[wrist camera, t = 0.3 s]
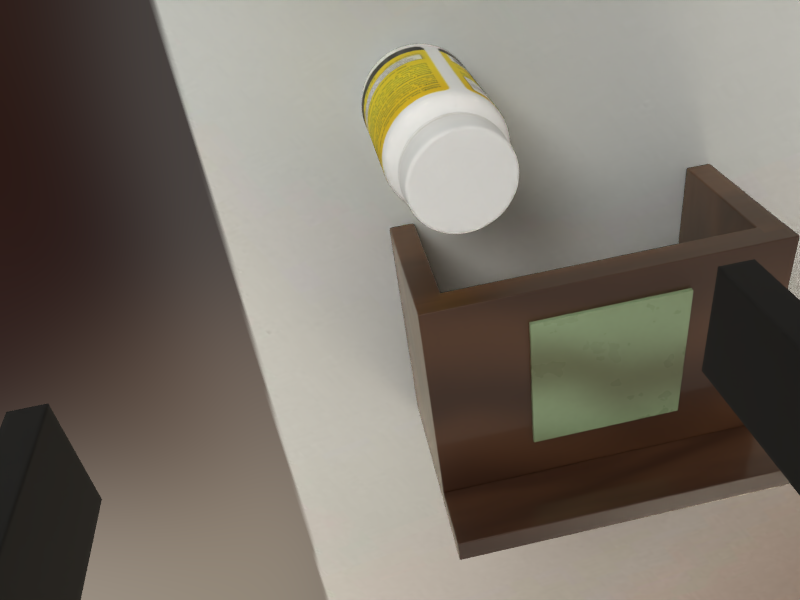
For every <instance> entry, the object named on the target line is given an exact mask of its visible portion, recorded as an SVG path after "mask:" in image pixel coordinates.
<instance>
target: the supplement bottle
mask: <svg viewBox="0 0 800 600" xmlns="http://www.w3.org/2000/svg"><path fill="white" fill-rule="evenodd" d="M362 113H363V118H364V122H365V124H366V127H367V129H368V132H369V134H370V137H371V140H372V142H373V145H374V148H375V151H376V153H377V156H378V159H379V161H380V164H381V167H382V169H383V172H384V175H385V177H386V179H387V182H388V183H389V185H390V187H391V188H392V189H393V191H394V192H395V193H396V194H397V195H398V196H399V197H400V198H401V199H402V200H403V201H404V202H406V203H407V204H408V206H409V208H410V209H411V211H412V213H413V214H414V215H415V217H416V218H417V219H418V220H419V221H420V222H422V223H423V224H424V225H426V226H427V227H429V228H431V229H433V230H435V231H438V232H442V233H447V234H463V233H469V232H473V231H476V230H478V229H481V228H483V227H485V226H487V225H488V224H490V223H491V222H493V221H494V220H496V219H497V218H498V217H499V216H500V215H501V214H502V213H503V212H504V211H505V210H506V209H507V207H508V206H509V205H510V203H511V201H512V199H513V198H514V195H515V193H516V190H517V187H518V182H519V164H518V160H517V156H516V154H515V152H514V149H513V148H512V146H511V143H510V135H509V131H508V128H507V125H506V123H505V120H504V118H503V116H502V115H501V113H500V112H499V110H498V109H497V108H496V106H495V105H494V104H493V103H492V101H491V100H490V99H489V98H488V97H487V95H486V94H485V93H484V91H483V90H482V89H481V88H480V86H479V85H478V84H477V83H476V81H475V80H474V79H473V78H472V76H471V75H470V74H469V73H468V71H467V70H466V69H465V67H464V66H463V65H462V64H461V63H460V62H459V60H458V59H456V58H455V57H454V56H453V55H452V54H451V53H449V52H448V51H446V50H444V49H442V48H440V47H437V46H434V45H429V44H411V45H406V46H402V47H399V48H397V49H395V50H393V51H391V52H389V53H388V54H386V55H385V56H383V57H382V58H381V59H380V60H379V61H378V62H377V63H376V64H375V65H374V67H373V68H372V70H371V71H370V73H369V74H368V77H367V79H366V81H365V84H364V87H363V91H362Z"/></svg>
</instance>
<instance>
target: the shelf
mask: <svg viewBox="0 0 800 600" xmlns="http://www.w3.org/2000/svg"><path fill="white" fill-rule="evenodd" d="M390 235H391V241H392V247H393V253H394V260H395V266H396V272H397V279H398V285H399V291H400V297H401V304H402V310H403V316H404V322H405V329H406V335H407V341H408V347H409V354H410V360H411V366H412V373H413V379H414V385H415V391H416V398H417V404H418V409H419V413H420V416H421V420H422V424H423V427H424V431H425V435H426V438H427V442H428V445H429V449H430V453H431V456H432V460H433V464H434V467H435V471H436V474H437V478H438V482H439V485H440V489H441V493H442V496H443V500H444V504H445V507H446V511H447V515H448V518H449V522H450V525H451V529H452V533H453V536H454V540H455V544H456V547H457V551H458V554H459V558H460V560H462V559H466V558H471V557H475V556H479V555H484V554H488V553H492V552H496V551H501V550H505V549H509V548H514V547H518V546H522V545H527V544H531V543H535V542H540V541H544V540H548V539H553V538H557V537H561V536H566V535H570V534H574V533H579V532H583V531H587V530H592V529H596V528H600V527H605V526H609V525H613V524H618V523H622V522H626V521H631V520H635V519H639V518H644V517H648V516H652V515H657V514H661V513H665V512H669V511H674V510H678V509H682V508H687V507H691V506H695V505H700V504H704V503H708V502H713V501H717V500H721V499H726V498H730V497H734V496H739V495H743V494H747V493H752V492H756V491H760V490H765V489H769V488H773V487H778V486H782V485H786V484H789V483H790V482H789V481H788V480H787V479H786V477H785V476H784V475H783V473H782V472H781V471H780V470H779V468H778V467H777V466H776V465H775V463H774V462H773V461H772V459H771V458H770V457H769V456H768V454H767V453H766V452H765V451H764V449H763V448H762V447H761V446H760V444H759V443H758V442H757V440H756V439H755V438H754V437H753V435H752V434H751V433H750V432H749V430H748V429H747V428H746V426H745V425H744V424H743V423H742V421H741V420H740V419H739V418H738V416H737V415H736V414H735V413H734V411H733V410H732V409H731V407H730V406H729V405H728V404H727V402H726V401H725V400H724V399H723V397H722V396H721V395H720V393H719V392H718V391H717V390H716V388H715V387H714V386H713V385H712V383H711V382H710V381H709V380H708V378H707V377H706V376H705V374H704V373H703V372H702V365H703V359H704V352H705V346H706V340H707V333H708V327H709V321H710V314H711V308H712V302H713V295H714V289H715V283H716V276H717V270H718V266H723V265H728V264H733V263H738V262H743V261H748V260H753V259H755V260H756V261H757V262H758V263H759V264H761V265H762V266H763V267H764V268H765V269H766V270H767V271H768V272H769V273H770V274H771V275H773V276H774V277H775V278H776V279H777V280H778V281H779V282H780V283H781V284H782V285H783V286H785V287H786V288H787V289H788V285H789V281H790V276H791V272H792V267H793V263H794V258H795V254H796V249H797V245H798V241H799V235H798V234H797V233H795V232H794V231H793V230H792V229H790V228H789V227H788V226H787V225H785V224H784V223H783V222H781V221H780V220H779V219H778V218H776V217H775V216H774V215H773V214H771V213H770V212H769V211H768V210H766V209H765V208H764V207H763V206H761V205H760V204H759V203H758V202H756V201H755V200H754V199H753V198H751V197H750V196H749V195H748V194H746V193H745V192H744V191H743V190H741V189H740V188H739V187H738V186H736V185H735V184H734V183H733V182H731V181H730V180H729V179H728V178H727V177H725V176H724V175H723V174H722V173H720V172H719V171H718V170H717V169H715V168H714V167H713V166H712V165H710V164H706V165H701V166H696V167H691V168H688V169H687V174H686V182H685V191H684V200H683V209H682V218H681V227H680V236H679V244H675V245H670V246H665V247H661V248H656V249H651V250H646V251H641V252H637V253H632V254H627V255H622V256H617V257H612V258H608V259H603V260H598V261H593V262H588V263H583V264H579V265H574V266H569V267H564V268H559V269H555V270H550V271H545V272H540V273H535V274H530V275H526V276H521V277H516V278H511V279H506V280H501V281H497V282H492V283H487V284H482V285H477V286H473V287H468V288H463V289H458V290H453V291H448V292H444V293H440V290H439V288H438V285H437V283H436V280H435V277H434V275H433V272H432V270H431V267H430V264H429V262H428V259H427V256H426V254H425V251H424V249H423V246H422V243H421V241H420V238H419V236H418V233H417V230H416V228H415V225H414V224H408V225H403V226H398V227H393V228H390Z"/></svg>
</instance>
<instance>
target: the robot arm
mask: <svg viewBox="0 0 800 600" xmlns="http://www.w3.org/2000/svg"><path fill="white" fill-rule="evenodd" d="M702 372H703V373H704V374H705V376H706V377H707V378H708V380H709V381H710V382H711V383H712V385H713V386H714V387H715V388H716V390H717V391H718V392H719V393H720V395H721V396H722V397H723V399H724V400H725V401H726V402H727V404H728V405H729V406H730V407H731V409H732V410H733V411H734V413H735V414H736V415H737V416H738V418H739V419H740V420H741V421H742V423H743V424H744V425H745V426H746V428H747V429H748V430H749V432H750V433H751V434H752V435H753V437H754V438H755V439H756V440H757V442H758V443H759V444H760V446H761V447H762V448H763V449H764V451H765V452H766V453H767V454H768V456H769V457H770V458H771V459H772V461H773V462H774V463H775V465H776V466H777V467H778V468H779V470H780V471H781V472H782V473H783V475H784V476H785V477H786V479H787V480H788V481H789V482H790V484H791V485H792V486H793V487H794V489H795V490H796V491H797V493H798V494H799V495H800V300H799V299H798V298H797V297H796V296H794V295H793V294H792V293H791V292H790V291H789V290H788V289H787V288H786V287H785V286H783V285H782V284H781V283H780V282H779V281H778V280H777V279H776V278H775V277H774V276H773V275H771V274H770V273H769V272H768V271H767V270H766V269H765V268H764V267H763V266H762V265H761V264H759V263H758V262H757V261H756V260H755V259H753V260H748V261H743V262H738V263H733V264H728V265H723V266H718V270H717V276H716V283H715V289H714V295H713V302H712V308H711V314H710V321H709V327H708V333H707V340H706V346H705V352H704V359H703V365H702ZM101 500H102V499H101V497H100V495H99V494H98V492H97V490H96V488H95V486H94V485H93V483H92V481H91V479H90V477H89V476H88V474H87V472H86V471H85V469H84V467H83V465H82V463H81V462H80V460H79V458H78V456H77V454H76V452H75V451H74V449H73V447H72V445H71V443H70V442H69V440H68V438H67V436H66V434H65V433H64V431H63V429H62V428H61V426H60V424H59V422H58V420H57V418H56V417H55V415H54V413H53V411H52V410H51V408H50V406H49V404H44V405H39V406H34V407H29V408H24V409H19V410H14V411H9V412H6V415H5V417H4V420H3V422H2V425H1V427H0V600H81V595H82V590H83V585H84V581H85V576H86V571H87V566H88V562H89V557H90V552H91V548H92V543H93V538H94V533H95V529H96V523H97V519H98V514H99V510H100V505H101Z"/></svg>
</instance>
